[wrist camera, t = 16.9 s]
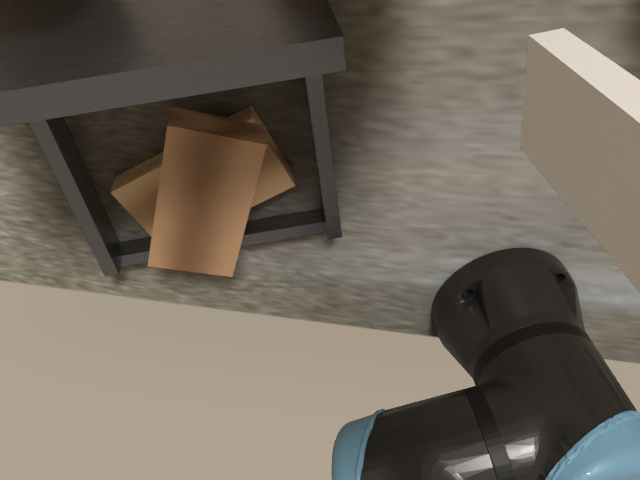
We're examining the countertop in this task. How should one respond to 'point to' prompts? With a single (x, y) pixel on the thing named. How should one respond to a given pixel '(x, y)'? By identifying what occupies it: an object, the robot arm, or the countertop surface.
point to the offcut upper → (205, 191)
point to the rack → (161, 84)
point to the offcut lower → (143, 180)
